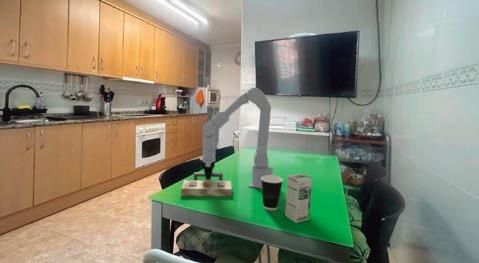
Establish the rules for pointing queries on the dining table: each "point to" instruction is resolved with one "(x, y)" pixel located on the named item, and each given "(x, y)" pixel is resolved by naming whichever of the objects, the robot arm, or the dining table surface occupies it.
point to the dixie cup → (271, 191)
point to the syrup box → (298, 197)
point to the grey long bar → (202, 174)
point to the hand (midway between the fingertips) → (208, 178)
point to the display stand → (206, 188)
